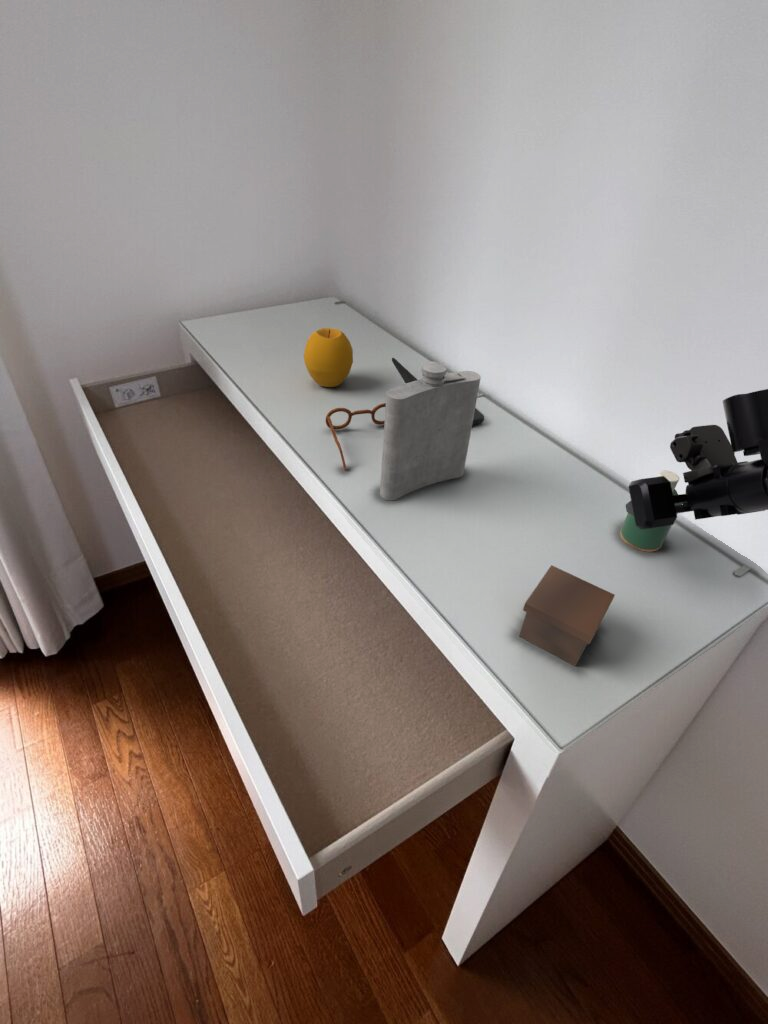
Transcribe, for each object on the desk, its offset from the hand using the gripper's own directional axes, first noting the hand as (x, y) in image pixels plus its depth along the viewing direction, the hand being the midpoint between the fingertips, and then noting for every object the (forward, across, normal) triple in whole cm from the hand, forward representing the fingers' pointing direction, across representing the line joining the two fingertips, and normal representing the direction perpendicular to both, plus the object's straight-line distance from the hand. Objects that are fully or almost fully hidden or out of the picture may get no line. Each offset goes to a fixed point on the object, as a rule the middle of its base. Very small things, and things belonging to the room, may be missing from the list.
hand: (654, 504), depth 81 cm
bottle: (+4, 0, +4) cm, 6 cm away
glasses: (+26, +34, -18) cm, 46 cm away
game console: (+34, +18, -25) cm, 45 cm away
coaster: (+4, 0, +5) cm, 6 cm away
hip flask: (+18, +28, -9) cm, 35 cm away
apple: (+43, +36, -35) cm, 66 cm away
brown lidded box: (-5, +21, +14) cm, 26 cm away
